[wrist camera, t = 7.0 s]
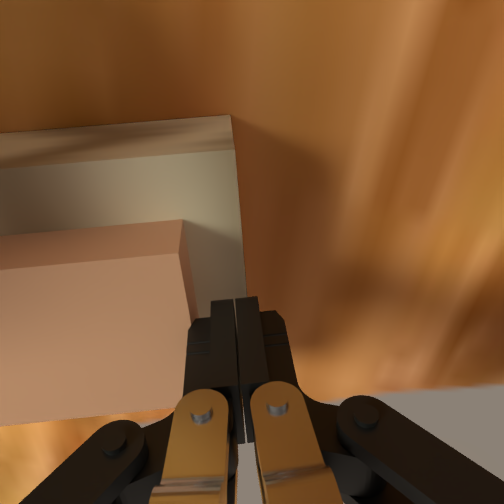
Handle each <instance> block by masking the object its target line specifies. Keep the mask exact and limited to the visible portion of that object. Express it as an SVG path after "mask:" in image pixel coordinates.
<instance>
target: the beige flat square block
mask: <svg viewBox="0 0 504 504" xmlns="http://www.w3.org/2000/svg"><path fill="white" fill-rule="evenodd" d="M178 219H183V224H184V230H185V236H186V242H187V248H188V254H189V260H190V266H191V272H192V278H193V284H194V290H195V296H196V302H197V308H198V314H199V318H205V317H210V306H211V301H214V300H224V299H233V300H234V309H235V318H236V305H235V298H243V297H247V288H246V276H245V264H244V252H243V240H242V228H241V216H240V204H239V192H238V180H237V168H236V156H235V146H234V139H233V131H232V124H231V117H230V115H221V116H209V117H197V118H184V119H172V120H160V121H147V122H135V123H123V124H110V125H98V126H86V127H73V128H61V129H49V130H36V131H24V132H12V133H0V236H6V235H17V234H28V233H38V232H49V231H60V230H71V229H81V228H92V227H103V226H114V225H124V224H135V223H146V222H157V221H167V220H178ZM236 326H237V320H236Z"/></svg>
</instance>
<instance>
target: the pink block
mask: <svg viewBox="0 0 504 504" xmlns="http://www.w3.org/2000/svg"><path fill="white" fill-rule="evenodd" d="M195 318H199V314H198V308H197V302H196V296H195V290H194V284H193V278H192V272H191V266H190V260H189V254H188V248H187V242H186V236H185V230H184V224H183V219H178V220H167V221H157V222H146V223H135V224H124V225H114V226H103V227H92V228H81V229H71V230H60V231H49V232H38V233H28V234H17V235H6V236H0V426H9V425H18V424H27V423H37V422H46V421H55V420H65V419H74V418H83V417H93V416H102V415H111V414H121V413H130V412H139V411H149V410H158V409H167V408H175V407H176V405H177V404H178V402H179V401H180V400H181V399H182V396H183V386H184V374H185V361H186V349H187V336H188V329H189V328H190V326H191V325H192V323H193V322H194V320H195Z"/></svg>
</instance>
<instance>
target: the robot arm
mask: <svg viewBox="0 0 504 504" xmlns="http://www.w3.org/2000/svg"><path fill="white" fill-rule="evenodd" d="M235 305H236V318H235V309H234V300H233V299H224V300H214V301H211V306H210V317H205V318H195V320H194V322H193V323H192V325H191V326H190V328H189V329H188V336H187V349H186V361H185V374H184V386H183V396H182V399H181V400H180V401H179V402H178V404H177V405H176V407H175V411H174V412H173V413H171V414H170V415H169V416H168V417H166V418H164V419H163V420H161V421H158V422H156V423H154V424H151V425H149V426H146V427H144V428H141V427H140V426H139V425H138V424H137V423H135V422H133V421H130V420H117V421H113V422H110V423H108V424H106V425H104V426H103V427H101V428H100V429H99V430H97V431H96V432H95V433H94V434H93V435H92V436H91V437H90V438H89V439H88V440H86V441H85V442H84V443H83V444H82V445H81V446H80V447H79V448H78V449H77V450H76V451H75V452H74V453H73V454H71V455H70V456H69V457H68V458H67V459H66V460H65V461H64V462H63V463H62V464H61V465H60V466H59V467H57V468H56V469H55V470H54V471H53V472H52V473H51V474H50V475H49V476H48V477H47V478H46V479H45V480H44V481H42V482H41V483H40V484H39V485H38V486H37V487H36V488H35V489H34V490H33V491H32V492H31V493H30V494H29V495H27V496H26V497H25V498H24V499H23V500H22V501H21V502H20V503H19V504H237V478H238V470H237V466H238V444H244V443H245V432H244V417H243V408H244V415H245V425H246V433H247V442H248V443H250V442H254V446H255V456H256V465H257V473H258V479H259V485H260V491H261V496H262V503H263V504H343V502H344V503H345V504H504V481H502V480H501V479H499V478H498V477H496V476H495V475H493V474H492V473H490V472H489V471H487V470H485V469H484V468H482V467H481V466H479V465H478V464H476V463H475V462H473V461H471V460H470V459H469V458H467V457H466V456H464V455H463V454H461V453H459V452H458V451H457V450H455V449H454V448H452V447H450V446H449V445H447V444H446V443H444V442H443V441H441V440H440V439H438V438H437V437H435V436H434V435H432V434H430V433H429V432H428V431H426V430H425V429H423V428H422V427H420V426H419V425H417V424H415V423H414V422H412V421H411V420H409V419H408V418H406V417H405V416H403V415H402V414H400V413H399V412H397V411H396V410H394V409H392V408H391V407H390V406H388V405H386V404H385V403H384V402H382V401H380V400H378V399H376V398H374V397H370V396H364V395H358V396H353V397H350V398H348V399H346V400H345V401H343V402H342V403H341V404H340V406H335V405H330V404H324V403H320V402H317V401H315V400H313V399H311V398H309V397H308V396H307V395H305V394H304V393H303V392H302V390H301V389H300V387H299V385H298V382H297V378H296V373H295V369H294V364H293V359H292V355H291V350H290V345H289V341H288V336H287V331H286V326H285V322H284V320H283V318H282V317H281V316H280V315H279V314H278V313H277V312H276V310H273V311H264V312H260V311H259V304H258V297H257V296H253V297H243V298H235ZM236 320H237V326H236ZM242 399H243V402H242Z"/></svg>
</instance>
